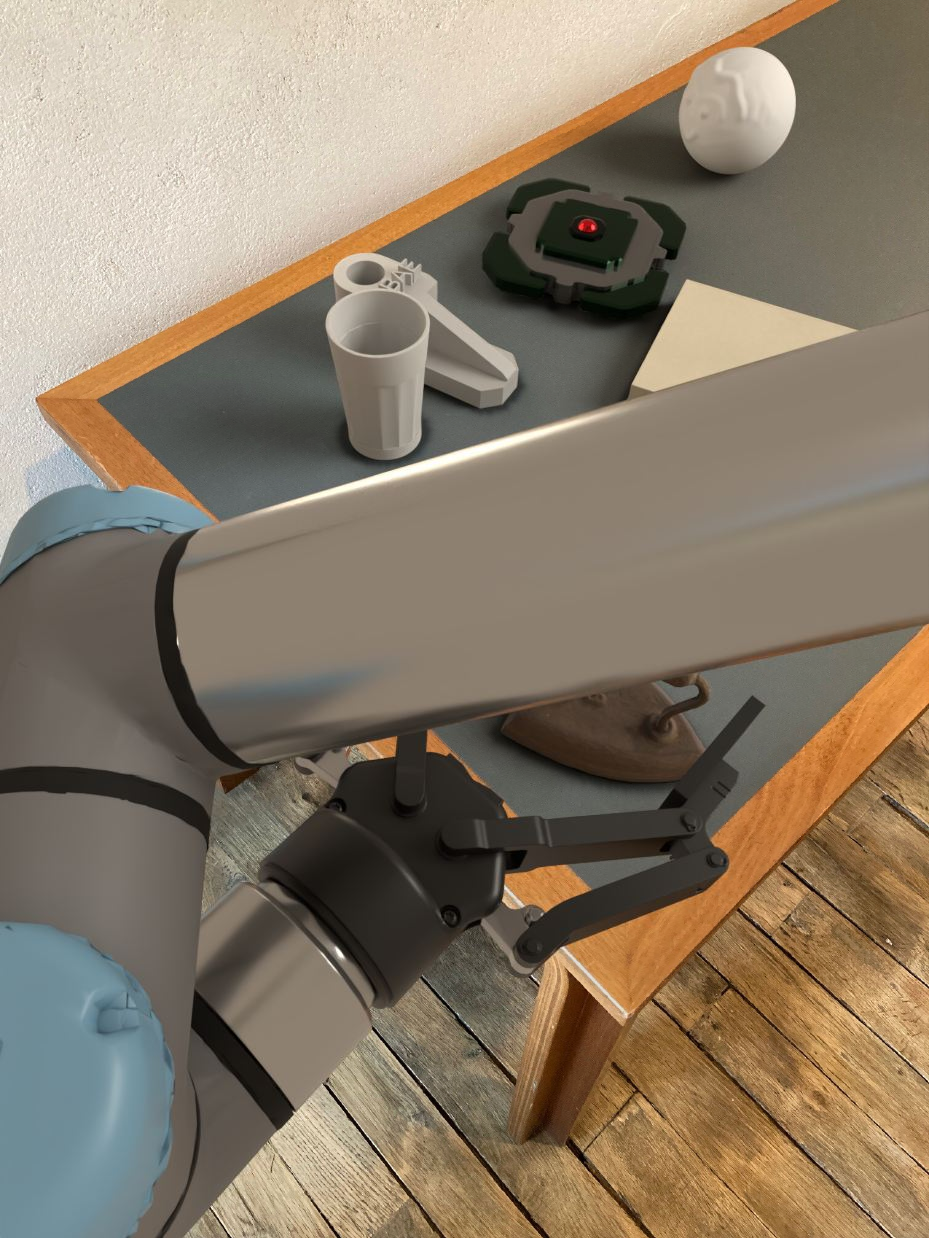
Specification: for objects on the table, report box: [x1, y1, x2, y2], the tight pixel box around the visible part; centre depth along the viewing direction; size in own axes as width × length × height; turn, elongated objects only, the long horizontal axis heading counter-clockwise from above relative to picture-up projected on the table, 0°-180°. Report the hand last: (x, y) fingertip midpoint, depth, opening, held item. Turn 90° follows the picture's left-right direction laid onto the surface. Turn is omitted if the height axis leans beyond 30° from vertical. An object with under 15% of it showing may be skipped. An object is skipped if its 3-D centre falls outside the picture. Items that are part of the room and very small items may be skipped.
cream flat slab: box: [626, 278, 859, 400], centre depth 85 cm, size 18×16×3 cm
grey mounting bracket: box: [332, 252, 519, 409], centre depth 84 cm, size 6×18×8 cm, turn 59°
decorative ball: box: [678, 46, 797, 175], centre depth 100 cm, size 12×12×12 cm
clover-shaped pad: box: [481, 177, 687, 321], centre depth 94 cm, size 18×18×5 cm
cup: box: [324, 288, 430, 461], centre depth 77 cm, size 8×8×12 cm
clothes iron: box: [500, 672, 712, 783], centre depth 62 cm, size 14×10×11 cm
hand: (634, 625), depth 46 cm, fingers open, 13 cm apart
